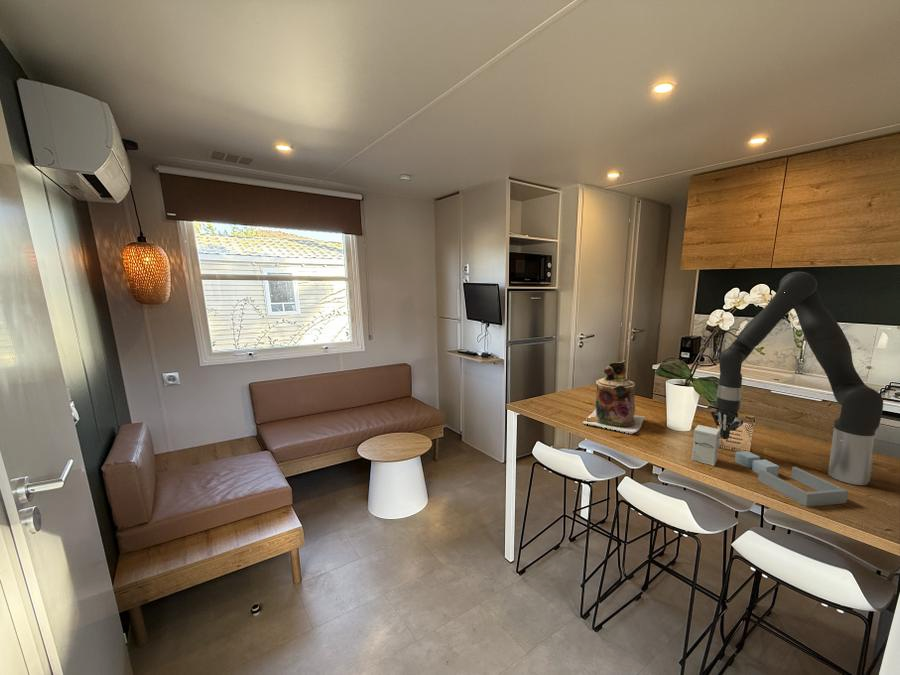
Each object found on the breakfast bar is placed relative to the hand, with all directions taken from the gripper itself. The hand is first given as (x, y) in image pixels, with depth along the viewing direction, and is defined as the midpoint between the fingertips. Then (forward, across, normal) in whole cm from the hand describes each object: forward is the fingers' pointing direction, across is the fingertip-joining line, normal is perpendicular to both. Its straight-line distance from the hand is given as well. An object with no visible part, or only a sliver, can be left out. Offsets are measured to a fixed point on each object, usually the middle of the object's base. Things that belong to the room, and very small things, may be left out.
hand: (724, 438), depth 144 cm
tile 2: (+6, -17, 0) cm, 18 cm away
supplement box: (+6, -5, +12) cm, 15 cm away
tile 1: (+6, -10, 0) cm, 12 cm away
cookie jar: (+7, +37, +24) cm, 45 cm away
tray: (+6, -28, 0) cm, 29 cm away
